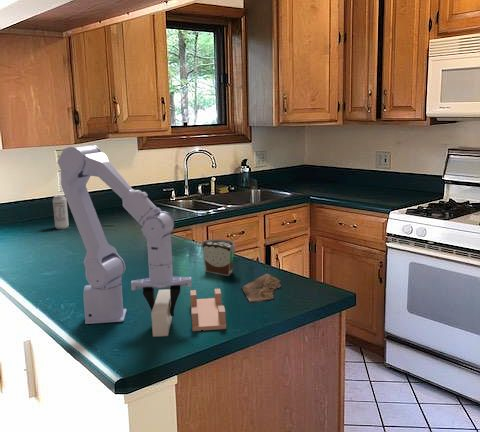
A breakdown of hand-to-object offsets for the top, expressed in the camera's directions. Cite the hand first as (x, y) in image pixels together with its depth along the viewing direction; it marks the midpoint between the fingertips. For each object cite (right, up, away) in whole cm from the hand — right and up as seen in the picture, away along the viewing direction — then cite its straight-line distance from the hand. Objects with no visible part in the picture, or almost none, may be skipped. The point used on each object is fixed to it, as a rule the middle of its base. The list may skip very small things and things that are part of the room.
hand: (163, 315), depth 131 cm
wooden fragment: (+25, +3, +25) cm, 36 cm away
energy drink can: (-63, +19, +114) cm, 132 cm away
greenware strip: (0, -2, 0) cm, 2 cm away
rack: (+11, -1, +4) cm, 12 cm away
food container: (+13, +6, +41) cm, 44 cm away
